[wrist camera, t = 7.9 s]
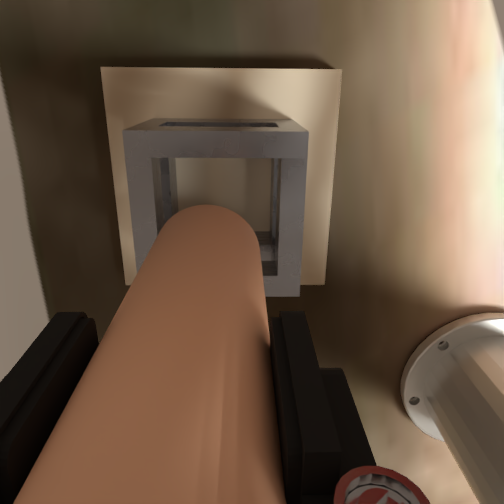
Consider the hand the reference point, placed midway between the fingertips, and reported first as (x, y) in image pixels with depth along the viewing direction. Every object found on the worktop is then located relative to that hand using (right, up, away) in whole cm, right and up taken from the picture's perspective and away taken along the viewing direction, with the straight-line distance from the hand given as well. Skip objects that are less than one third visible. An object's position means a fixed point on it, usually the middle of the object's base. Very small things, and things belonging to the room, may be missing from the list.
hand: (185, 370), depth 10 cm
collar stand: (0, +7, +19) cm, 20 cm away
